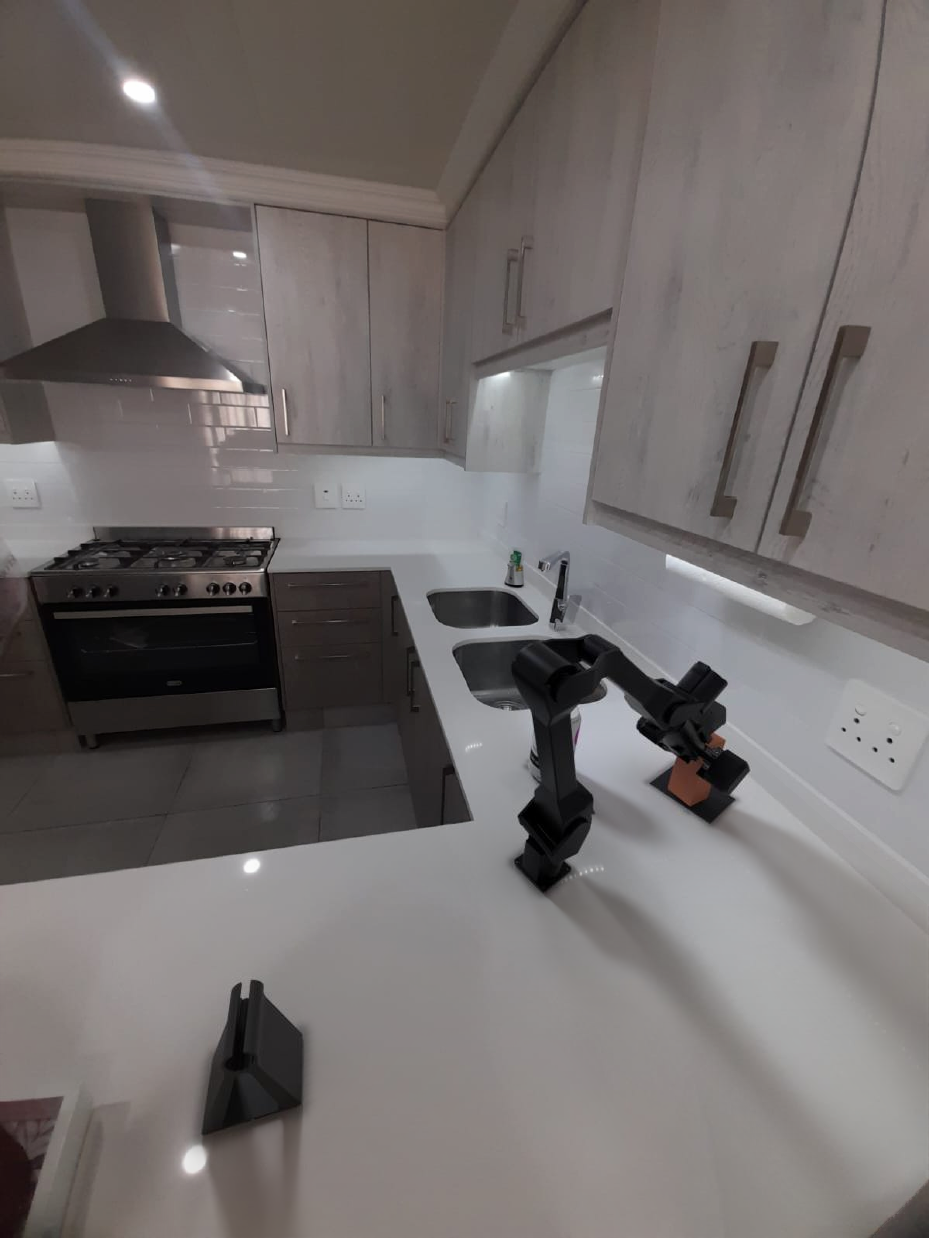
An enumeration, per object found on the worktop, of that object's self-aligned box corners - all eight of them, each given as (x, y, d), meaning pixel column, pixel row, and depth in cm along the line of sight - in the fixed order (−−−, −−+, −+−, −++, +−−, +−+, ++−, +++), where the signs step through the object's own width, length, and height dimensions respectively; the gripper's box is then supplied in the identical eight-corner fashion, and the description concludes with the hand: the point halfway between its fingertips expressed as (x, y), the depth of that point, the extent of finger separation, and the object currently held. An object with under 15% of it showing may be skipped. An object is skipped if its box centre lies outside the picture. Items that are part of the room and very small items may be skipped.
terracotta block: (689, 806, 88) (707, 747, 83) (667, 788, 92) (683, 731, 87) (707, 798, 90) (726, 739, 85) (685, 781, 94) (701, 724, 89)
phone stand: (303, 1036, 54) (294, 969, 49) (301, 1105, 48) (291, 1039, 43) (213, 1059, 51) (195, 991, 46) (201, 1135, 46) (179, 1068, 41)
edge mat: (709, 823, 86) (710, 823, 86) (649, 783, 94) (649, 782, 94) (735, 799, 92) (735, 798, 92) (676, 763, 100) (676, 762, 100)
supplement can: (567, 760, 99) (579, 697, 92) (571, 789, 91) (585, 723, 85) (527, 755, 99) (537, 693, 93) (528, 784, 92) (538, 718, 86)
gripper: (762, 723, 72) (779, 760, 82) (661, 665, 87) (686, 702, 97) (714, 780, 72) (737, 811, 82) (621, 712, 86) (650, 745, 96)
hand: (701, 762), depth 89 cm, fingers closed on terracotta block, 5 cm apart
